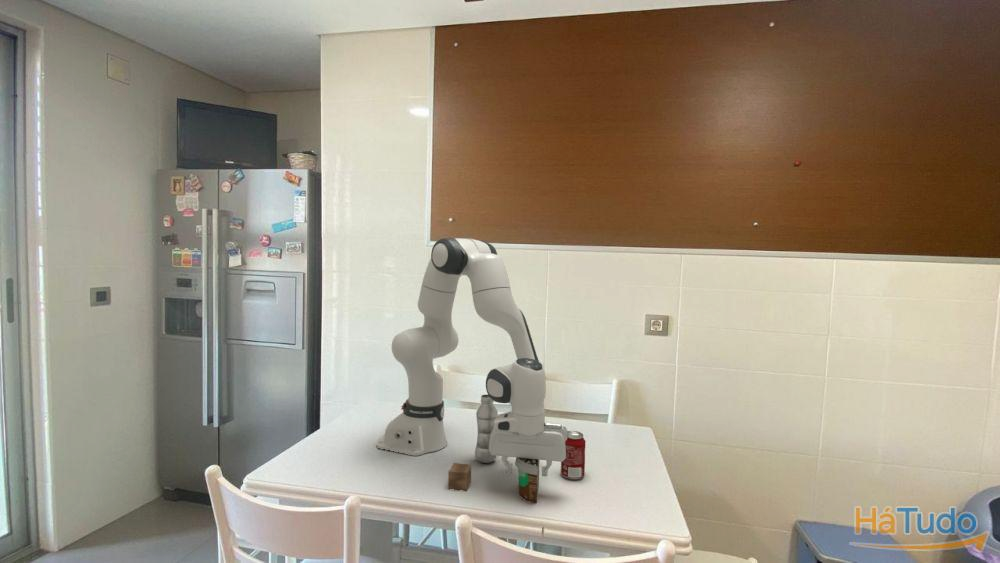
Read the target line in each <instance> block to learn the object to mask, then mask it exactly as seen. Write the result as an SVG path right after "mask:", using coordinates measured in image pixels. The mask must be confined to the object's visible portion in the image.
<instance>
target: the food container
mask: <svg viewBox="0 0 1000 563" xmlns="http://www.w3.org/2000/svg"><path fill="white" fill-rule="evenodd" d="M514 462H515V463H514V464H515V467H516V468H517V477H518V479H517V480H518V494H519V496H521V497H522V498H521V497H520V498H521V499H522V500H524V499H525V501H526V502H529V501H530V502H529V503H532V502H533V504H537V502H538V494H539V485H540V460H538V459H527V458H516V457H515V461H514Z"/></svg>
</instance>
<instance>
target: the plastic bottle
mask: <svg viewBox="0 0 1000 563" xmlns="http://www.w3.org/2000/svg"><path fill="white" fill-rule="evenodd" d="M480 403H481V404H480V405H479V407H478V408H477V410H476V413H475V415H476V424H477V425H476V426H477V438H476V445H475V449H474V455H475V456H474V457H475V459H476V460H477V461H478V462H479V463H483V464H489V463H493V462H494V461H495V460H496V459H497V456H495V455H491V454H490V453H489V440H490V435H491V433H492V431H493V429H494V421H495V419H496V417H497V416H498V415H499V413H498V409H497V407H496V406H495V405H494V403H495V401H494V400H492V399H491V398H490V397H489V395H488V393H487V394H481V396H480Z"/></svg>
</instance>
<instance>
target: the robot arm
mask: <svg viewBox="0 0 1000 563" xmlns="http://www.w3.org/2000/svg"><path fill="white" fill-rule="evenodd" d="M430 254H431V256H430V259H429V262H428V264H427V265H426V268H425V272H424V276H423V277H422V278H423V279H422V283H421V287H420V291H419V292H420V293H419V296H418V301H417V309H418V311H419V312H420V313H421V314H422V315H423V317H424V321H423V322H424V323H423V325H422V326H420V327H413V328H408V329H406V330H403V331H401V332H399V333H397V334H396V335H395V336H394V337H393V339H392V342H391V352H392V355H393V357H394V359H395V360H396V361H397V362H398V363H400V364H401V365H402V367H403V368H404V370H405V373H406V377H407V380H408V381H407V383H408V384H407V385H408V398H407V399H406V400H405V402H404V403H403V404H402V405H401V411H402V412H401V413H400V414H399V415H396V417H394V418H393V419H392V420H391V421H389V423H388V424H387V425H386V428H385V431H384V434H383V435H382V436H381V437H380V438H379V439H378V441H377V443H376V447H377V449H378V448H380V449H379V450H383V449H385V450H384V451H388V450H390V452H393V451H394V453H398V452H399V454H403V453H404V455H409V456H415V457H417V456H421V455H424V454H428V453H432V452H438V451H439V450H442V449H444V448H445V447H446V446H447V443H448V441H447V438H446V432H445V427H444V426H445V425H444V418H445V404H444V403H445V400H443V395H444V393H443V391H444V388H443V387H444V380H443V377H442V375H441V374H440V373H439V372H437V371H436V370H435V367H434V365H433V364H434V363H433V361H434V360H436V359H439V358H443V357H445V356H448V355H450V354H451V353H452V352H454V351H455V350H456V349H457V347H458V344H459V335H458V333H457V330H456V329H455V328H454V327H453V320H452V319H453V318H452V315H453V313H452V312H453V308H454V307H453V306H454V302H455V299H456V298H455V297H456V293H457V290H458V289H457V288H458V284H459V280H460V278H461V277H462V276H467V277H468V279H469V282H470V285H471V288H470V289H471V293H472V295H471V296H472V301H473V305H474V309H475V312H476V314H477V315H478V316H479V318H481V319H482V320H484V321H485V322H486V323H489V324H491V325H494V326H496V327H499V328H501V329H503V330H505V332H507V334H508V336H509V337H510V340H511V343H512V346H513V349H514V352H515V355H516V360H514V362H512V363H510V364H506V365H502V366H499V367H495V368H493V369H491V370H490V371H489V372H488V373H487V376H486V379H485V389H486V390H485V391H486V392H487V394H488V395H489V397H490V398H491V399H492V400H494V403H499V404H509V405H511V410H510V411H508V412H504V413H500V414H499V413H498V416H497V417H496V419H495V421H494V429H493V431H492V433H491V435H490V440H489V453H490V454H491V455H495V456H496V457H501V461H502V463H503V465H504V466H505V473H508V474H509V473H510V474H511V473H512V472H513V463H510V462H509V460H508V458H515V459H516V458H527V459H538V460H539V461H545V462H546V465H545V466H542V467H541V476H542V477H548V473H549V472H548V471H549V469H550V468H551V467H552V464H553V462H560V463H561V462H562V461H564V460H565V458H566V445H565V441H566V440H567V438H568V431H569V430H568V429H567V428H566V426H564V425H563V424H561V423H551V422H546V408H545V399H546V389H547V388H546V387H547V385H546V382H547V381H546V372H545V368H544V365H543V364H542V363H541V362H540V360H539V357H538V355H537V351H536V349H535V346H534V343H533V338H532V334H531V332H530V328H529V325H528V323H527V320H526V317H525V315H524V313H523V311H522V310H521V309H520V308H519V307H518V305H517V304H516V301H515V300H514V297H513V295H512V290H511V284H510V281H509V276H508V273H507V269H506V266H505V263H504V261H503V259H502V257H501V256H500V255H499V254H498V252H497V250H496V248H495V247H494V245H492V244H491V243H490V242H487V241H484V240H477V239H474V238H469V237H468V238H467V237H466V238H465V237H464V238H463V237H462V238H461V237H460V238H458V237H457V238H456V237H455V238H454V237H444V238H443V237H442V238H440V239H438V240H437V241H436V242H435V243H434V244H433V246H432V248H431V253H430Z"/></svg>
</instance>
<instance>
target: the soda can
mask: <svg viewBox="0 0 1000 563" xmlns="http://www.w3.org/2000/svg"><path fill="white" fill-rule="evenodd" d="M567 431H568V438H567V440H566V441H565V445H566V458H565V460H564V461H562V462H560V474H561V476H563V477H564V478H565V479H568V480H571V481H577V480H579V479H582V478H584V477H585V473H586V472H585V467H586V440H585V438H584V434H583V433H582V432H581V431H577V430H567Z"/></svg>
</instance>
